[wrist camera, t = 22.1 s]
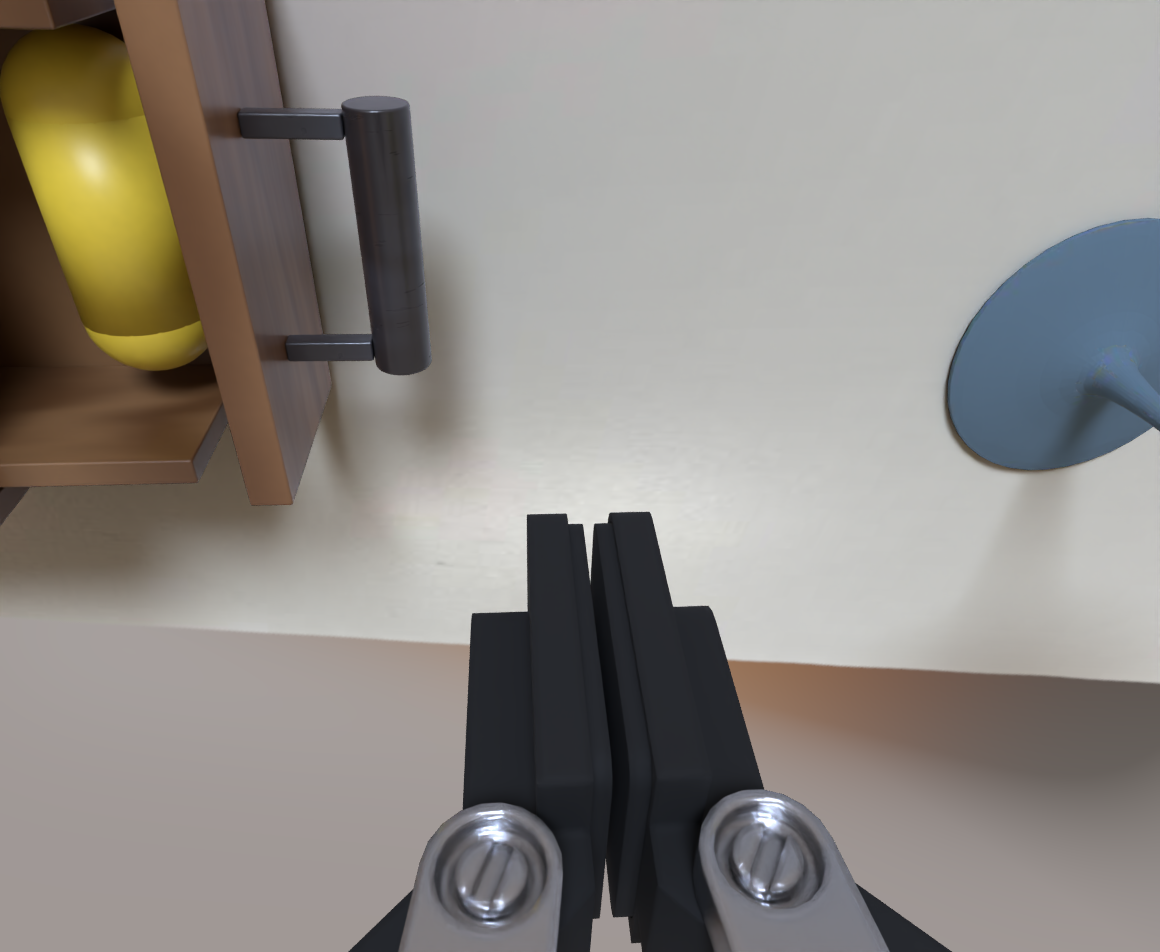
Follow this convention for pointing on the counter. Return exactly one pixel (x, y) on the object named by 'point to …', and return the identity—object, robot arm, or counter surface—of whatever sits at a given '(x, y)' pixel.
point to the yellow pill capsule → (102, 193)
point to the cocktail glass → (1065, 353)
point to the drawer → (205, 265)
